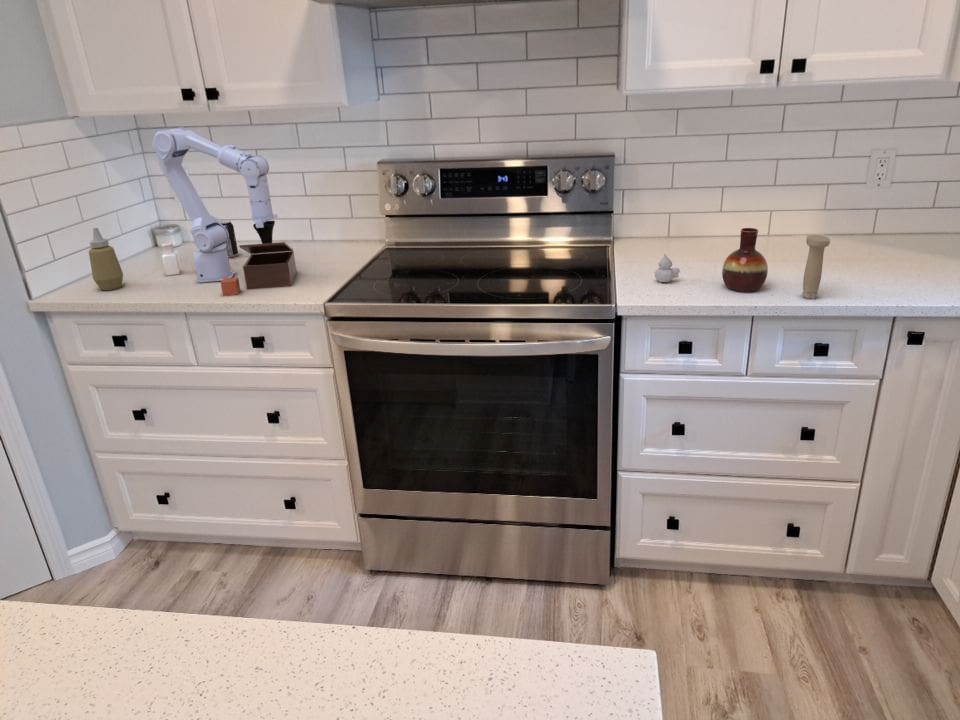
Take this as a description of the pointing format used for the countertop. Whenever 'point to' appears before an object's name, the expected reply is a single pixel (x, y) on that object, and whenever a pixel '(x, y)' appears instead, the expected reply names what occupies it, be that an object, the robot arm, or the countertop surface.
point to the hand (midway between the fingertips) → (268, 246)
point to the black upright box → (230, 239)
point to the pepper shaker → (170, 259)
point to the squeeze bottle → (104, 263)
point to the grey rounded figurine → (666, 270)
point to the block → (230, 286)
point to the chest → (270, 270)
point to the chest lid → (266, 248)
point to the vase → (745, 265)
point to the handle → (814, 264)
